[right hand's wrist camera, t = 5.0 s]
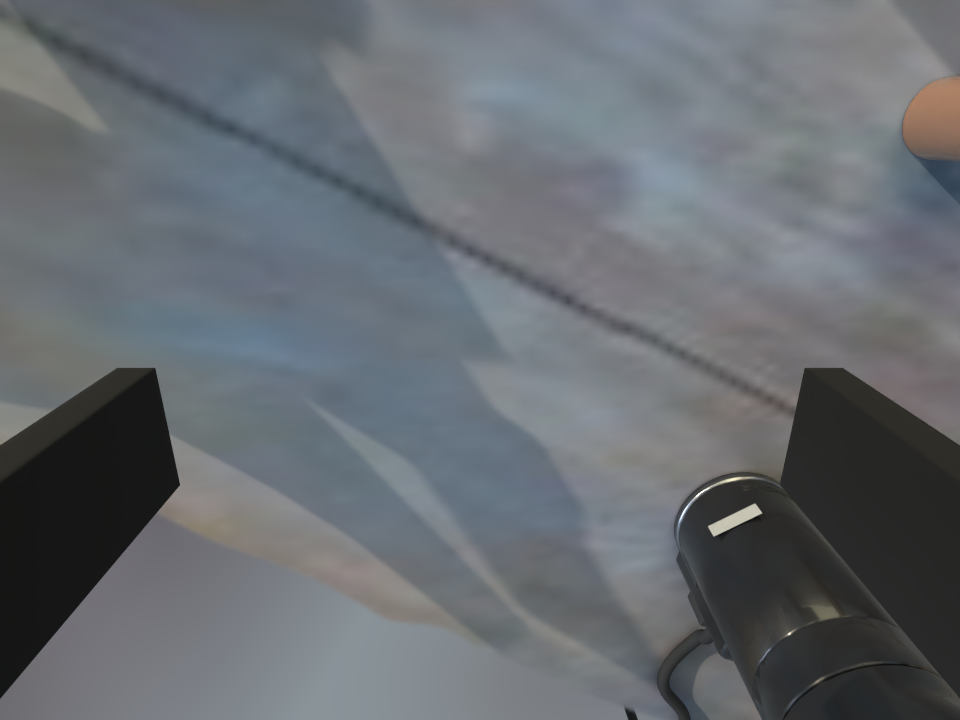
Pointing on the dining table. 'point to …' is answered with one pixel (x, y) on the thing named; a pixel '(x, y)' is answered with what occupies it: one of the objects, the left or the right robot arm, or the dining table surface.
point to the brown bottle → (935, 121)
